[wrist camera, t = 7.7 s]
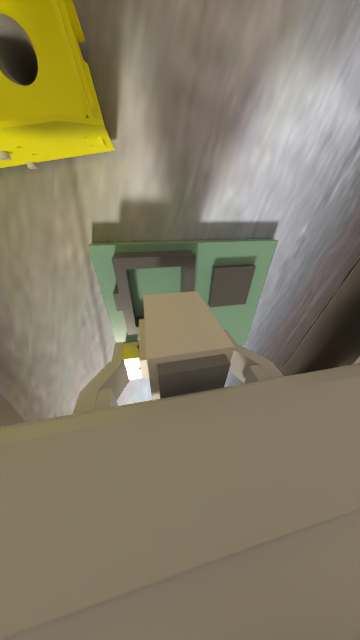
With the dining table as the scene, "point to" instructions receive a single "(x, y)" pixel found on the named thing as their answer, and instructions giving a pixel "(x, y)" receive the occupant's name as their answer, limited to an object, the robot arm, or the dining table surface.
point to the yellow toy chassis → (45, 86)
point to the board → (183, 278)
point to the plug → (182, 345)
